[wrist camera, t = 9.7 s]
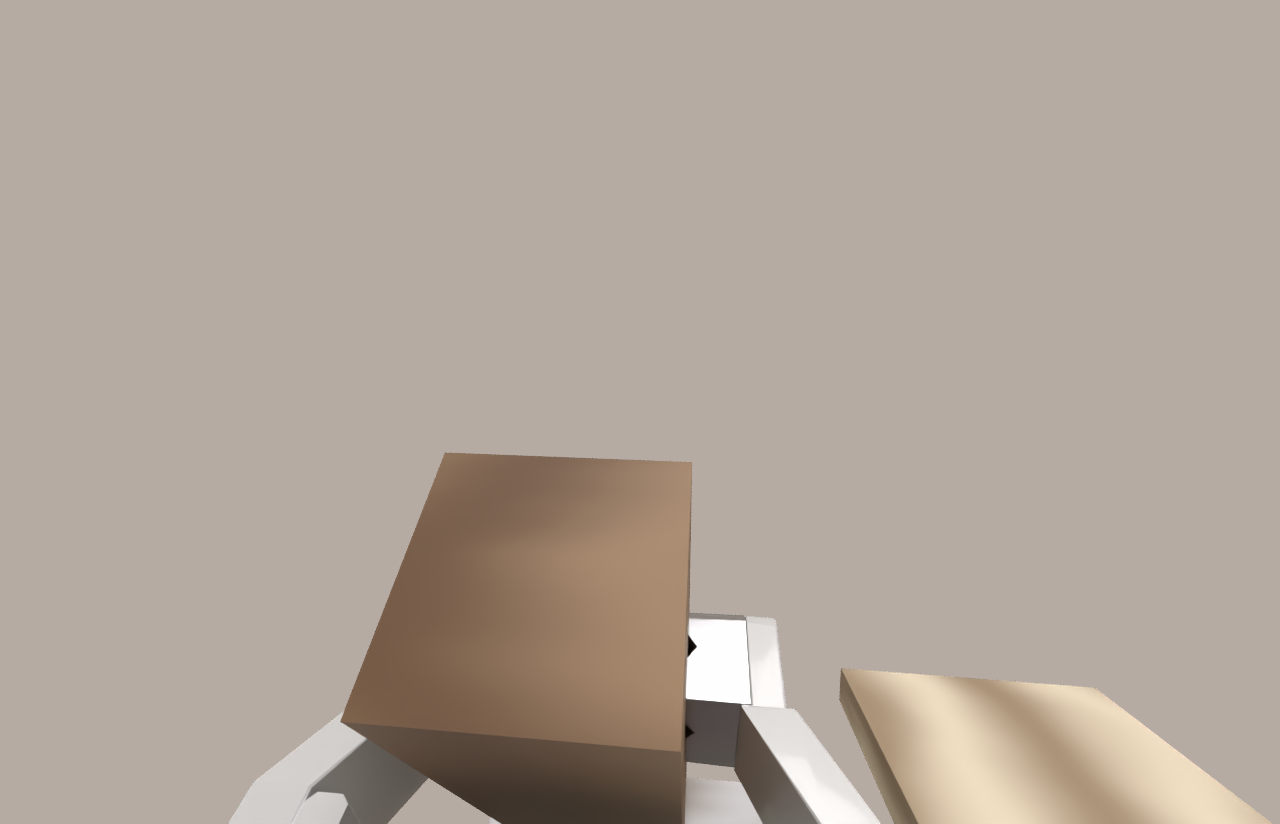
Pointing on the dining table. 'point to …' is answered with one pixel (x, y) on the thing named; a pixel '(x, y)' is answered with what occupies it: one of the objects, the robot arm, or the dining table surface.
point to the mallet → (545, 644)
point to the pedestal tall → (1022, 755)
